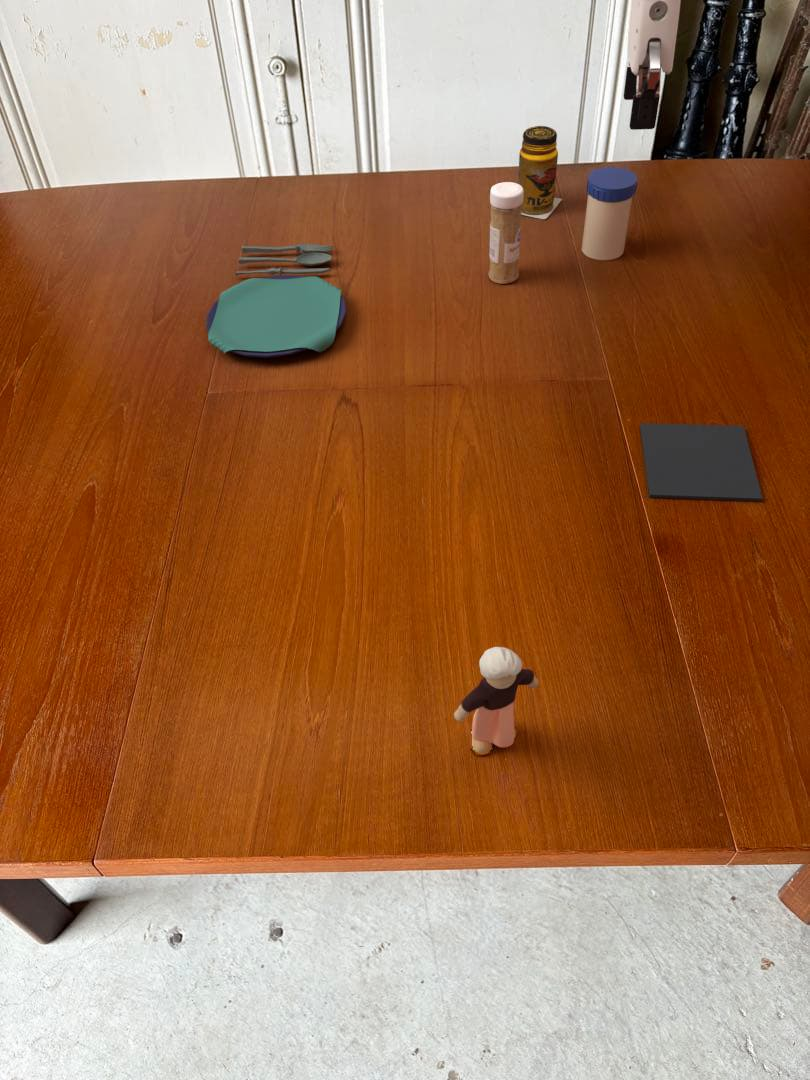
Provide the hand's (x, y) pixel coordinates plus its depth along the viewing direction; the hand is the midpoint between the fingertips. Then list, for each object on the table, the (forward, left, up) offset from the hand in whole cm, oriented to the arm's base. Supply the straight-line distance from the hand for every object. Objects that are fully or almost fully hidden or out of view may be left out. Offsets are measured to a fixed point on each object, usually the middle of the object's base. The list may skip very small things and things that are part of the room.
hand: (638, 113), depth 109 cm
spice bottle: (+17, +7, -20) cm, 28 cm away
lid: (+2, -1, -10) cm, 10 cm away
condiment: (+13, -15, -20) cm, 28 cm away
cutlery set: (+49, +15, -20) cm, 55 cm away
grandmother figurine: (+16, +82, -20) cm, 86 cm away
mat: (-6, +46, -20) cm, 51 cm away
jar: (+2, -1, -20) cm, 20 cm away
